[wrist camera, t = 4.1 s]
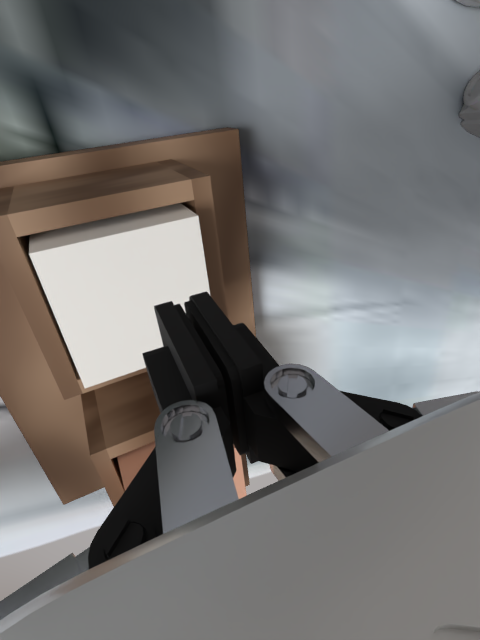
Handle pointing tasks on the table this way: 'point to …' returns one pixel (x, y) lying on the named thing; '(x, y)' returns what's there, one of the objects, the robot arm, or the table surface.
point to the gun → (471, 107)
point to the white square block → (118, 284)
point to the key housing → (38, 318)
